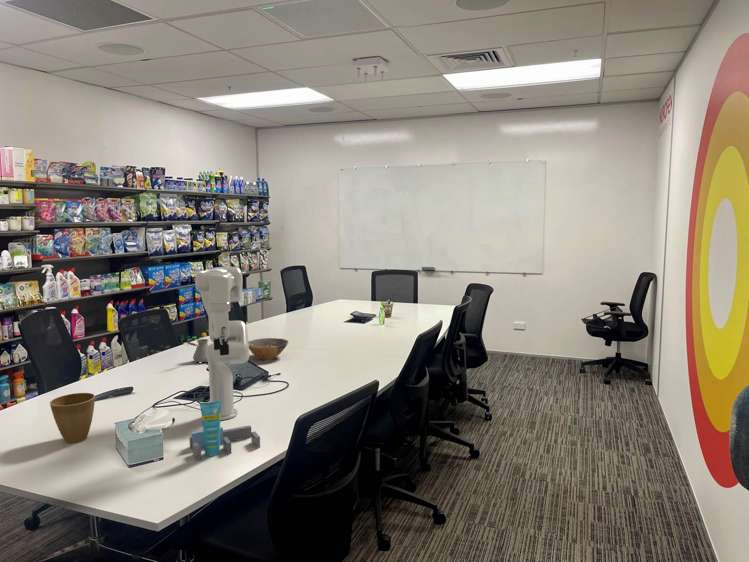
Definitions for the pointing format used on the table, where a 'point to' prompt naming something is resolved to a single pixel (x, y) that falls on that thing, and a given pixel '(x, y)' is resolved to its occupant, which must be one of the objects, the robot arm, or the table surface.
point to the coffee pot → (200, 350)
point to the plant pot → (73, 415)
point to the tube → (211, 426)
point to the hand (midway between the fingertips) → (221, 352)
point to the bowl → (267, 347)
